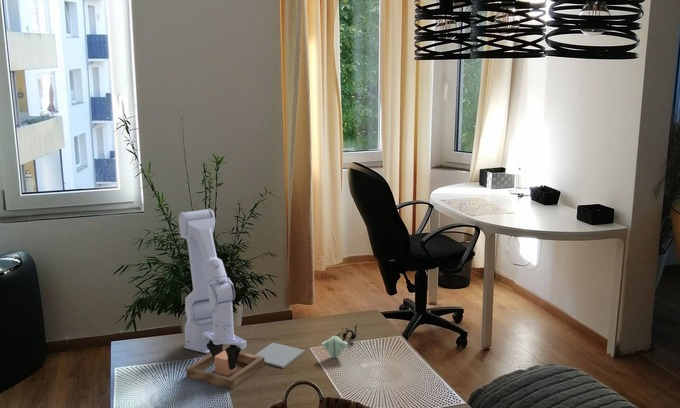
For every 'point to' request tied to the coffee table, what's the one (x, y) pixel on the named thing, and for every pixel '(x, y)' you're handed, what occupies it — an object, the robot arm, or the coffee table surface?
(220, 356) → the terracotta block
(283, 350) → the tile
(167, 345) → the coffee table surface
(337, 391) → the coffee table surface
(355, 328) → the creature
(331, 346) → the pale green pointed piece
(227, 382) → the well frame
